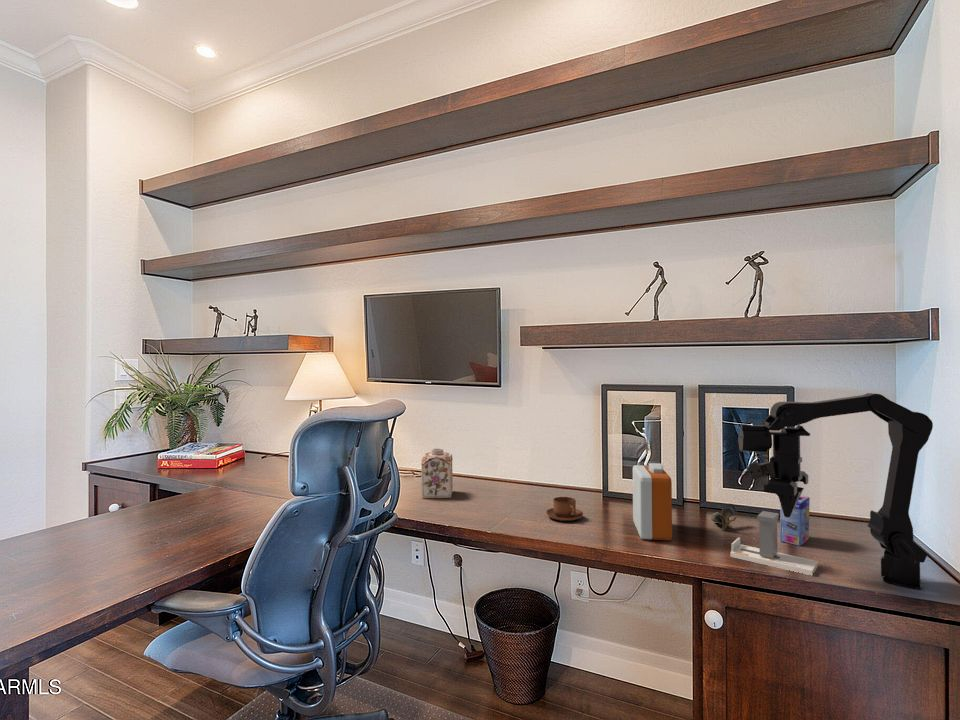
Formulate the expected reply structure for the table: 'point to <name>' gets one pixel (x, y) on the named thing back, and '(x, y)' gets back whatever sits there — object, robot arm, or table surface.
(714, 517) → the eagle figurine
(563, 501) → the cup and saucer
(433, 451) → the decorative jar
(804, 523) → the ink cartridge box
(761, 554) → the switch knob
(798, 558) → the switch unit
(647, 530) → the alarm clock
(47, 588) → the table surface
